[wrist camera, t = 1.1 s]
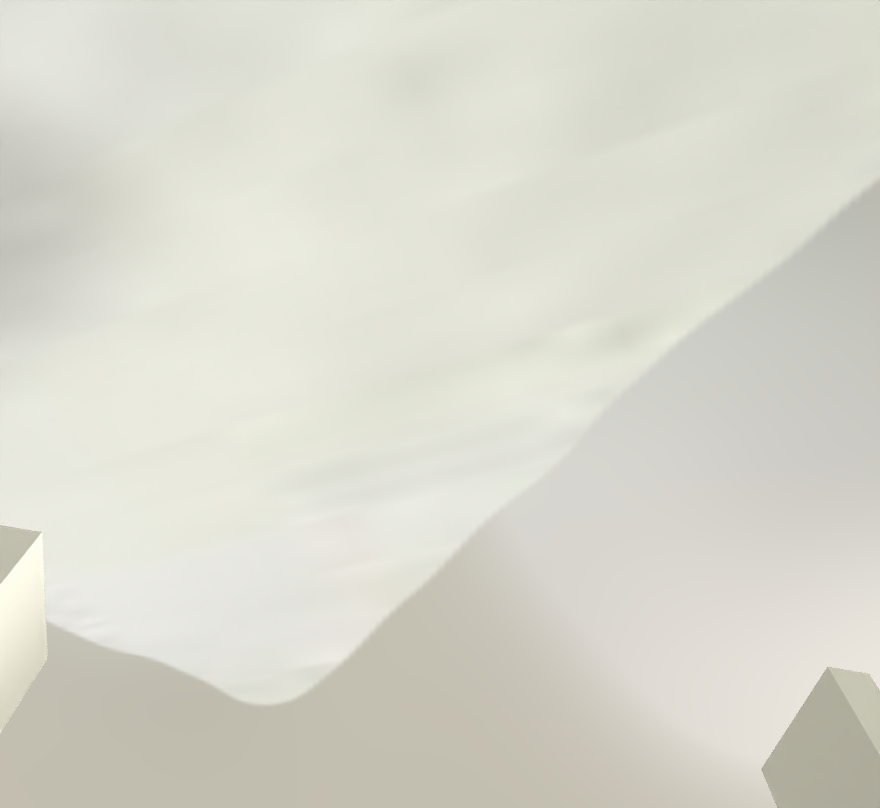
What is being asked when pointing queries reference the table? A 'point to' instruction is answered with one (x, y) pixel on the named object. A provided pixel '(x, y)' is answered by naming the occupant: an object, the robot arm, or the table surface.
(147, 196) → the table surface
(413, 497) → the table surface
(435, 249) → the table surface
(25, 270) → the table surface
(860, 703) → the robot arm
